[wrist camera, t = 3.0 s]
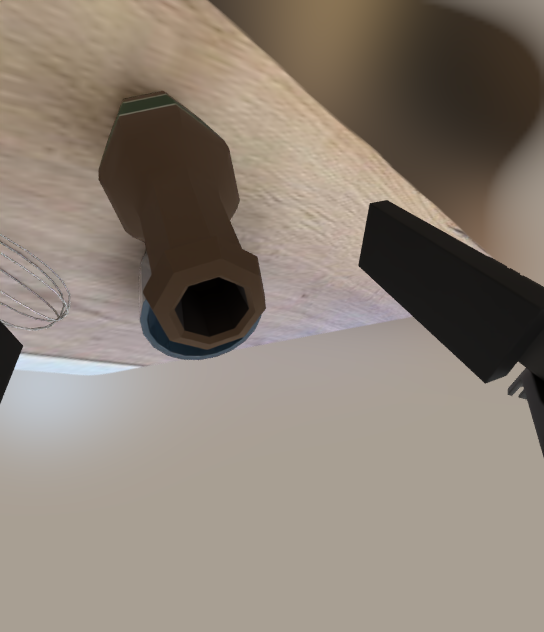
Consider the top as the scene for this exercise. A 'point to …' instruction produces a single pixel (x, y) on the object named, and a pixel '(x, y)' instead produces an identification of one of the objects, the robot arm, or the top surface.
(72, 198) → the top surface
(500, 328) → the robot arm
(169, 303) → the beer bottle
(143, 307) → the metal cup
